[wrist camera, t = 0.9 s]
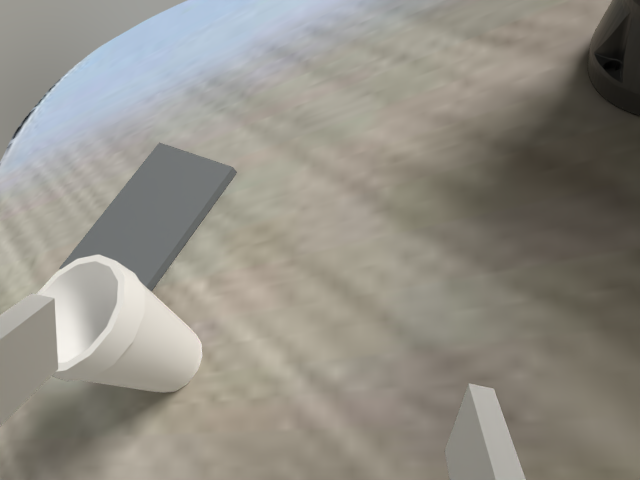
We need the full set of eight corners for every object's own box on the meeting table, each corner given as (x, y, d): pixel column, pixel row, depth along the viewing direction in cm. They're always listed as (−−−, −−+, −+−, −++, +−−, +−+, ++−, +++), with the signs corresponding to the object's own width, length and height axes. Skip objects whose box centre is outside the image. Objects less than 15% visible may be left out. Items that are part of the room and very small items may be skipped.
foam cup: (123, 412, 45) (3, 377, 35) (142, 320, 50) (42, 265, 40) (210, 405, 42) (108, 365, 32) (222, 309, 47) (136, 246, 37)
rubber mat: (163, 147, 64) (159, 142, 63) (236, 172, 56) (232, 167, 55) (65, 272, 58) (59, 268, 57) (132, 317, 51) (126, 314, 50)
